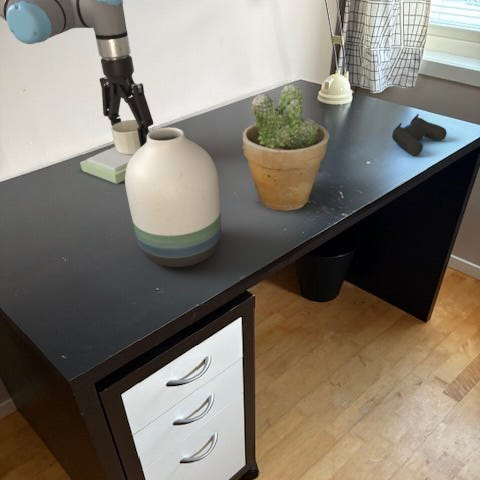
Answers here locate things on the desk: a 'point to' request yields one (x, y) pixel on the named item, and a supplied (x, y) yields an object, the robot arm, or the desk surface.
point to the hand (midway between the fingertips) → (133, 147)
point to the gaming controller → (417, 135)
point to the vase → (174, 199)
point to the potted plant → (283, 150)
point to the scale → (108, 165)
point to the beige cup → (126, 136)
